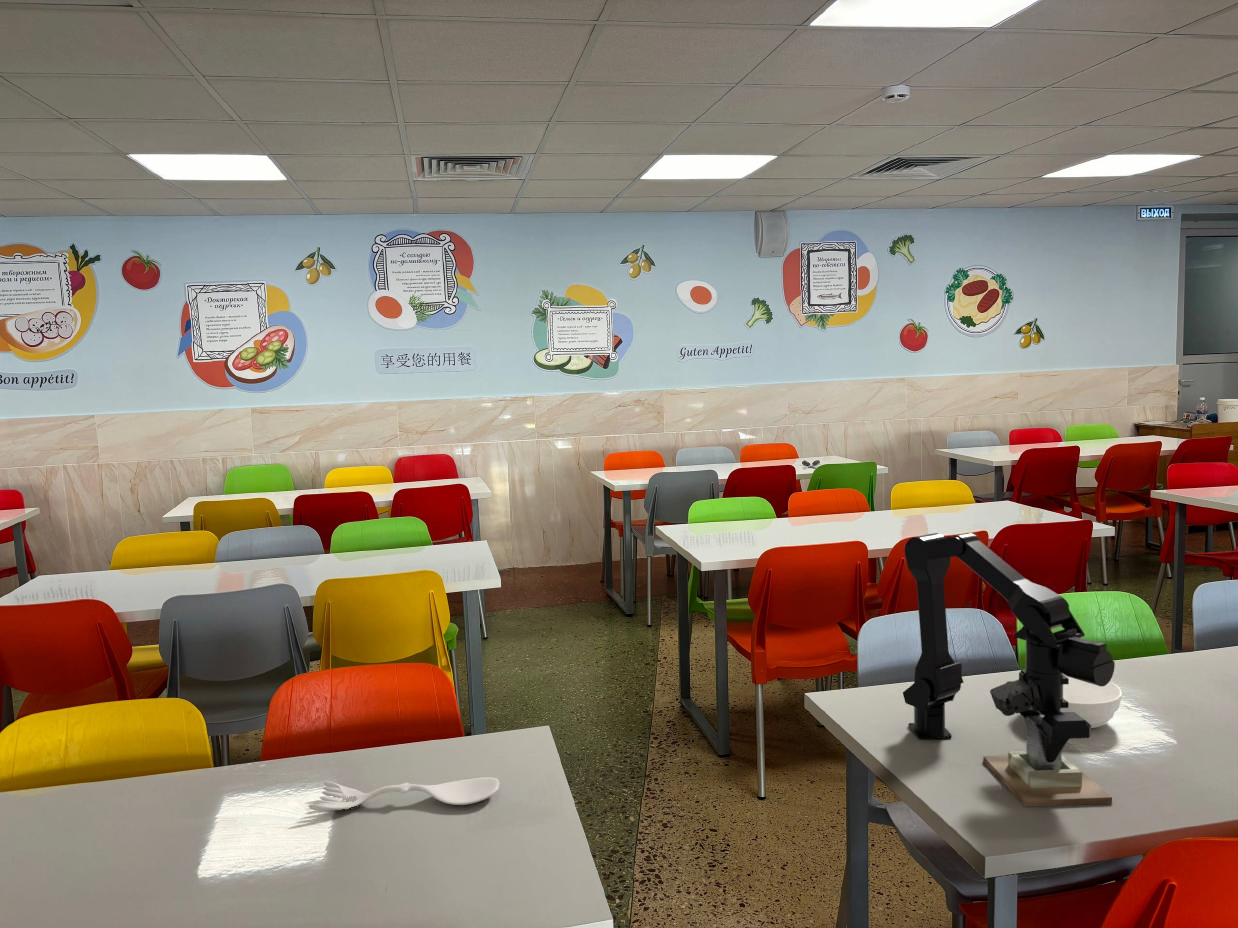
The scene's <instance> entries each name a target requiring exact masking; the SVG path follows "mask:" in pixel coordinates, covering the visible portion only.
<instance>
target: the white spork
mask: <svg viewBox="0 0 1238 928" xmlns="http://www.w3.org/2000/svg"><path fill="white" fill-rule="evenodd" d="M323 786H324V787H323V788H322V789H323V790H324V791H321V793H322V794H323V795H324V796H319V799H320V800H316V801H315V802H313V803H311V804H309V805H308V807H309V809H310V810H313V811H334V810H335V811H336V810H337V811H338V810H339V811H342V809H345V810H350V809H349V808H351V807H354V806H357V805H359V804H362V803H363V804H366V803H367V802H368V801H370V800H372V799H374V798H375V797H378V796H380V795H383V794H387V793H401V794H406V793H408V792H413V791H417V792H422V793H424V794H426V795H428V796H430V797H432V798H433V799H435V800H437V801H439V802H441V803H444V804H448V805H455V806H466V805H472V804H475V803H478V802H481V801H483V800H486V799H488V798H490V797H492V796H493V795H495V794H496V793H497V792H498V790H499V788H500V781H499V779H498V778H495V777H490V776H489V777H487V776H486V777H485V776H484V777H474V778H467V779H461V780H459V779H458V780H454V781H449V782H444V783H438V784H433V785H431V784H414V783H409V782H403V783H401V784H394V785H391V784H390V785H385V786H382V787H379V788H377V789H375V790H373V791H370V792H367V793H365V792H363V791H360V790H358V789H355V788H351V787H347V786H344V785H342V784H339V783H336V782H333V781H330V780H329V781H328V780H327V781H324V782H323ZM329 796H333V797H329ZM349 796H350V797H351V796H352V797H353V796H357V797H356V798H358V799H357V800H356V801H354V802H352V801H351V802H350V801H349V802H345V801H346V800H345V799H346V798H347V797H348V798H349ZM336 797H341V798H336ZM363 804H362V805H363ZM357 807H358V806H357ZM351 809H352V808H351Z"/></svg>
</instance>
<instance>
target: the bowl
mask: <svg viewBox="0 0 1238 928" xmlns="http://www.w3.org/2000/svg"><path fill="white" fill-rule="evenodd" d="M1063 675H1064V674H1063ZM1064 676H1065V675H1064ZM1066 677H1067V678H1069V684H1063V698H1064V699H1065V700H1066V701H1068V708H1060V711H1061V712H1075V713H1076V714H1078V715H1079V716H1080V717H1082V718H1083V719H1084V720H1086V721H1087V722H1088V723H1089V724H1090V725H1091V729H1095V728H1099V727H1100V728H1101V727H1102V726H1104V725H1105V724H1107V723H1108V722H1109V721H1110V720H1112V718H1113V717H1114V715H1115V713H1116V712H1117V711H1118V710H1119V708H1120V706H1121V705H1120V704H1121V700H1122V697H1123V692H1122V690H1121V688H1120V686H1118V685H1116V684H1115V683H1114V682H1112V681H1111V680H1110V681H1109V683H1108V684H1107V685H1105V686H1098V685H1094V684H1091V683H1088V682H1084V681H1081V680H1078V679H1074V678H1071V677H1068V676H1066Z"/></svg>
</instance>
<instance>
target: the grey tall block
mask: <svg viewBox="0 0 1238 928" xmlns="http://www.w3.org/2000/svg"><path fill="white" fill-rule="evenodd" d="M1042 718H1043V716H1042V715H1032V716H1027V725H1026V735H1025V737H1026V738H1025V739H1026V745H1025V746H1026V750H1025V751H1026V762H1027V763H1028V764H1029V765H1030V766H1031V767H1032V768H1033V769H1034V770H1035V771H1037V770H1062V755H1063V754H1062V753H1063V751H1062V750H1063V749H1062V750H1061V752H1060V753H1059V755H1058V756H1057V758H1056V760H1055V761H1054V762H1047V760H1046V755H1045V748H1044V740H1043V733H1042V732H1041V731H1040V730H1039V729H1038V728H1036V727H1035V725H1038V724H1042Z"/></svg>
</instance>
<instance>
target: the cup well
mask: <svg viewBox="0 0 1238 928" xmlns="http://www.w3.org/2000/svg"><path fill="white" fill-rule="evenodd" d="M982 758H983V759H982V761H983V763H984V764H985V765H986V767H988V768H989V769H990V770H991V771H992V772H993V773H994V774H995V776H996V777H997V778H998V779H999V780H1000V781H1001V782H1002V783H1003V784H1004V785H1005V787H1006V788H1008V790H1010V792H1011V793H1012V794H1013V795H1014V796H1015V797H1016V798H1017V800H1019V801H1020V802H1021V803H1022V805H1023V806H1024V807H1026V808H1027V807H1045V806H1046V807H1048V806H1049V807H1051V806H1052V807H1053V806H1071V805H1072V806H1075V805H1076V806H1077V805H1097V804H1113V796H1112V795H1110V794H1109V793H1108V792H1107V791H1105V789H1103V788H1102V787H1101V786H1100V785H1099V784H1097V783H1096V782H1095V781H1094V780H1093V779H1091V778H1090V777H1089V775H1087V774H1086V773H1085V772H1083V771H1082V770H1081V769H1080V768H1079V767H1078V766H1077V765H1075V764H1074V763H1073V762H1072V761H1071V760H1069V758H1067V757H1066V756H1065V755H1064V754H1062V770H1037V771H1035V770H1034V769H1033V768H1032V767H1031V766H1030V765H1029V764H1028V763H1027V762H1026V750H1018V751H1017V750H1015V751H1008V753H1007V754H1005V755H1004V754H1003V755H1002V754H1001V755H983V756H982Z"/></svg>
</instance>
